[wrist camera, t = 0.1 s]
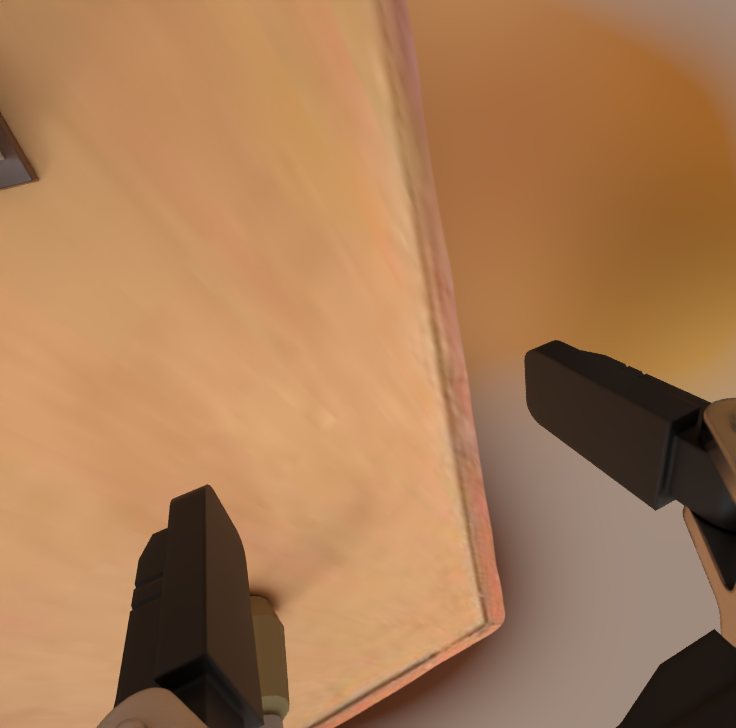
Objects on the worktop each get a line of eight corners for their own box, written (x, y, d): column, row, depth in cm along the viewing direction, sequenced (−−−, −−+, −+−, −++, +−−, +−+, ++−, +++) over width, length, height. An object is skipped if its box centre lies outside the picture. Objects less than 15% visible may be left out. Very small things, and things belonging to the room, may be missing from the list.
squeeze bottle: (283, 620, 54) (315, 796, 39) (219, 643, 52) (226, 841, 36) (274, 578, 51) (305, 754, 35) (205, 602, 48) (206, 801, 33)
